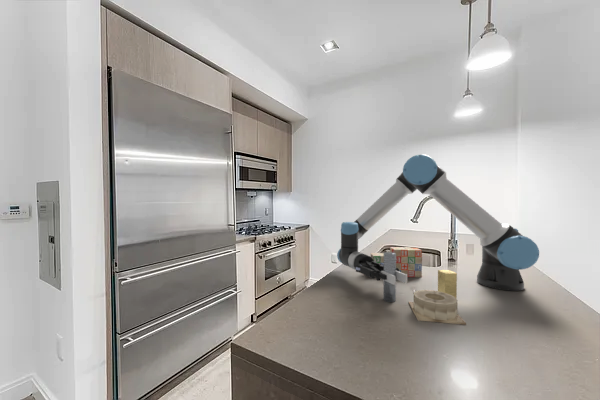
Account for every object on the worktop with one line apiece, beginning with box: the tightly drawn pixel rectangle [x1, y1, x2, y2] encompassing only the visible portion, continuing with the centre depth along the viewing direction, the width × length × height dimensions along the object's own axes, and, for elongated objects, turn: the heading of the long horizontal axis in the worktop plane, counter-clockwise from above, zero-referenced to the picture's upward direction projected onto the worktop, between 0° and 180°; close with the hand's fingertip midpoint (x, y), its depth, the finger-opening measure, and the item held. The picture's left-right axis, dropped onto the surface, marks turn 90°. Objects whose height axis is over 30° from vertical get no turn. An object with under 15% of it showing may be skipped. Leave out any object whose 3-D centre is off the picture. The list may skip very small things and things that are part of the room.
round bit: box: [382, 251, 397, 303], centre depth 89 cm, size 4×4×16 cm
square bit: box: [437, 269, 458, 300], centre depth 88 cm, size 4×4×10 cm
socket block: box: [408, 289, 467, 326], centre depth 78 cm, size 12×12×5 cm
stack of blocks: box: [370, 246, 423, 278], centre depth 118 cm, size 21×6×12 cm, turn 86°
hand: (400, 279), depth 84 cm, fingers closed on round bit, 4 cm apart
